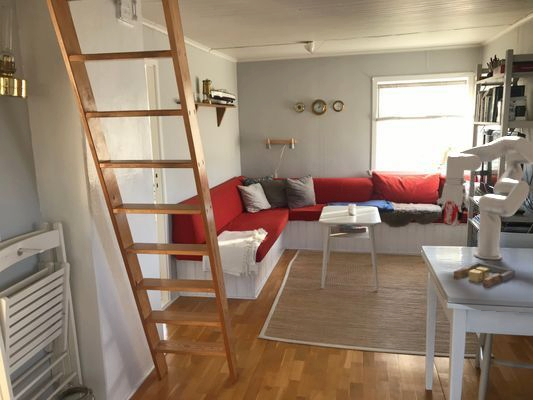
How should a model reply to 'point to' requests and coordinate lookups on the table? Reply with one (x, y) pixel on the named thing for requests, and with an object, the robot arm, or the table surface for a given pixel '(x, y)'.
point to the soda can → (451, 214)
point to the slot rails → (486, 281)
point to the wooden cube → (484, 271)
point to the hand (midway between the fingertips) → (452, 218)
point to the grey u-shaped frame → (495, 270)
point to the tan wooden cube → (475, 275)
